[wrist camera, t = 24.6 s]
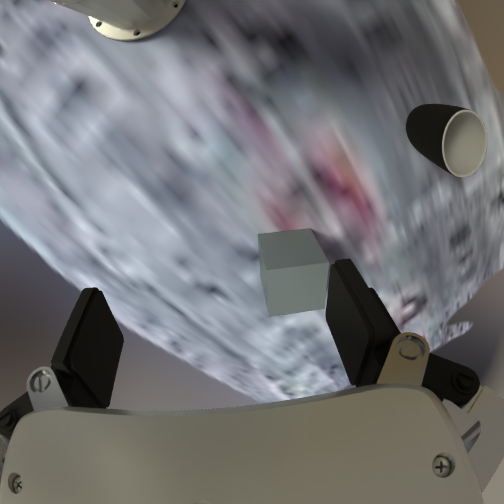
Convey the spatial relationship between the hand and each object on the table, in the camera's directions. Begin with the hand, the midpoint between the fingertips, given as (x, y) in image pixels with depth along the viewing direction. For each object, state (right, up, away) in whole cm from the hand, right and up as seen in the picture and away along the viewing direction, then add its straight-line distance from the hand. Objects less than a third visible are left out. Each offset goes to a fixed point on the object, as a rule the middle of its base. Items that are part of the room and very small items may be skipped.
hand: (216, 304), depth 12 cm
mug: (+28, +21, +24) cm, 42 cm away
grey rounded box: (+6, +2, +33) cm, 34 cm away
